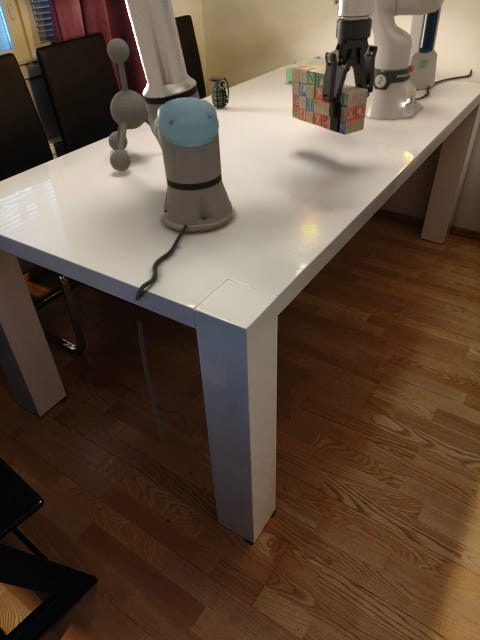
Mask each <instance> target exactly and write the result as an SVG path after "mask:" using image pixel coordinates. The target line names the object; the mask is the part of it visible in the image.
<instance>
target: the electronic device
mask: <svg viewBox="0 0 480 640" xmlns="http://www.w3.org/2000/svg"><path fill="white" fill-rule="evenodd" d="M442 7H443V4H442V5H441V7H440V8H439V9H438V10H437V11H436V12H432V13H428V14H423V15H412V17H411V26H410V33H409V35H410V36H411V38H412V48H411V55H410V61H409V66H411V65H413V67H414V69H413V72H410V78H409V80H410V81H411V83H412V84H413V86H414V87H415V88H416V90H423V89H427V88H428V86H430V88H429V89H431V88H432V87H433V86H434V85H435V84H434V83H435V82H436V72H437V62H438V53H437V52H436V50H435V47H436V41H437V35H438V31H439V24H440V18H441V12H442Z"/></svg>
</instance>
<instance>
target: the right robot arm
mask: <svg viewBox="0 0 480 640" xmlns="http://www.w3.org/2000/svg"><path fill="white" fill-rule="evenodd" d="M329 2H330V5H338V0H330V1H329ZM444 2H445V0H374V8H373V14H372V15H371V16H370V18H371V20H372V27H371V32H372V35H373V46H377V47H378V50H377V53H376V57H375V69H374V85H373V92H371V93H369V94H370V95H369V97H367V103H366V111H365V117H367V118H370V119H376V120H398V119H411V118H413V117H414V116H415V114H416V113H417V112H418V111H419V110H420V109H421V108H422V103H420V102H419V101H417V100H422V99H425V98H426V97H427V96H429V95H430V89H431V88H430V86H428V88H426V94H424V95H422V96H421V97H418V98H416V97H417V89H416V88H415V87H414V86H413V84H412V83H411V81H410V80H409V78H410V72H413V69H414V67H413V65H411V66H409V61H410V55H411V48H412V38H411V36H410V33H409V32H407V31H406V30H405V29H403V28H401V27H400V26H398V24H397V23H396V21H395V20H396V19H395V17H397V16H413V15H423V14H426V15H427V14H428V13H432V12H436V11H437V10H438V9H439V8H440V7H441V5H442V6H443V4H444ZM441 8H442V7H441ZM472 74H473V69H470V71H469V74H465V75H461V76H460V75H459V76H453V77H448V78H443V79H439V80H437V81H436V80H435V83H434V85H437V84H440V83H443V82H448V81H453V80H459V79H465V78H469V77H470V76H472Z"/></svg>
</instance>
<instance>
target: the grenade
mask: <svg viewBox="0 0 480 640" xmlns="http://www.w3.org/2000/svg"><path fill="white" fill-rule="evenodd" d="M208 81H209V82H212V83H214V85H213V86H212V88H211V90H212V91H211V104H212V105H213V106H214V108H215V109H216V110H217V109H218V110H223V109H225V108H226V107H227V105H228V104H229V102H230V101H229V100H230V85H229V82H228V79H227V78H226V76H211V77H209V79H208ZM226 89H227V90H226Z"/></svg>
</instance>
